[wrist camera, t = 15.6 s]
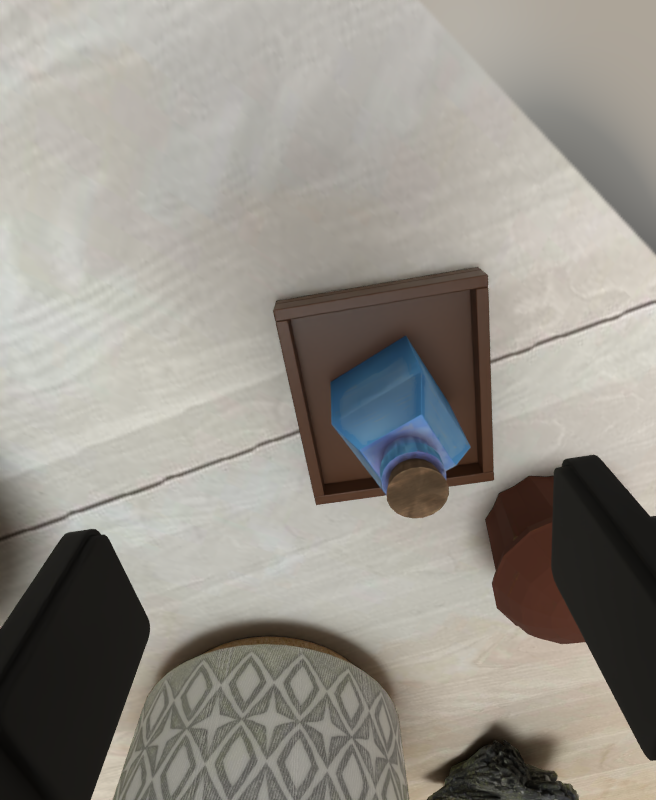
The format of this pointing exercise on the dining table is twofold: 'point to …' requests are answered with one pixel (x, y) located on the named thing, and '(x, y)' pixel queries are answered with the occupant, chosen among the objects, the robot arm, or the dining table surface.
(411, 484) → the perfume bottle
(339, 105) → the dining table surface
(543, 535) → the muffin
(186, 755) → the planter
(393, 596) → the dining table surface
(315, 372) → the tray
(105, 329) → the dining table surface
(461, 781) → the mineral specimen
